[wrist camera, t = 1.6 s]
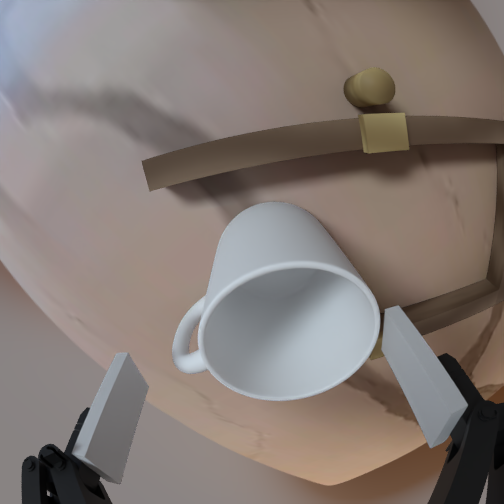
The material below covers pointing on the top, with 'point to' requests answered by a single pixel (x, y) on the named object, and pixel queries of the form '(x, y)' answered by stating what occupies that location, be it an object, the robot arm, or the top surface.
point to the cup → (279, 309)
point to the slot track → (371, 141)
